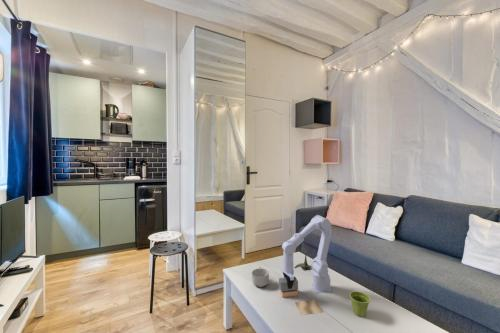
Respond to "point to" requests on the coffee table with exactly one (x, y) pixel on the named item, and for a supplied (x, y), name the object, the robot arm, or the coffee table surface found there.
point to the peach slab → (289, 293)
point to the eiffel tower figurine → (304, 265)
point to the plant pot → (359, 303)
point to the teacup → (260, 277)
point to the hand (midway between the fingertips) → (288, 285)
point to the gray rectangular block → (284, 285)
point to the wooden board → (308, 307)
